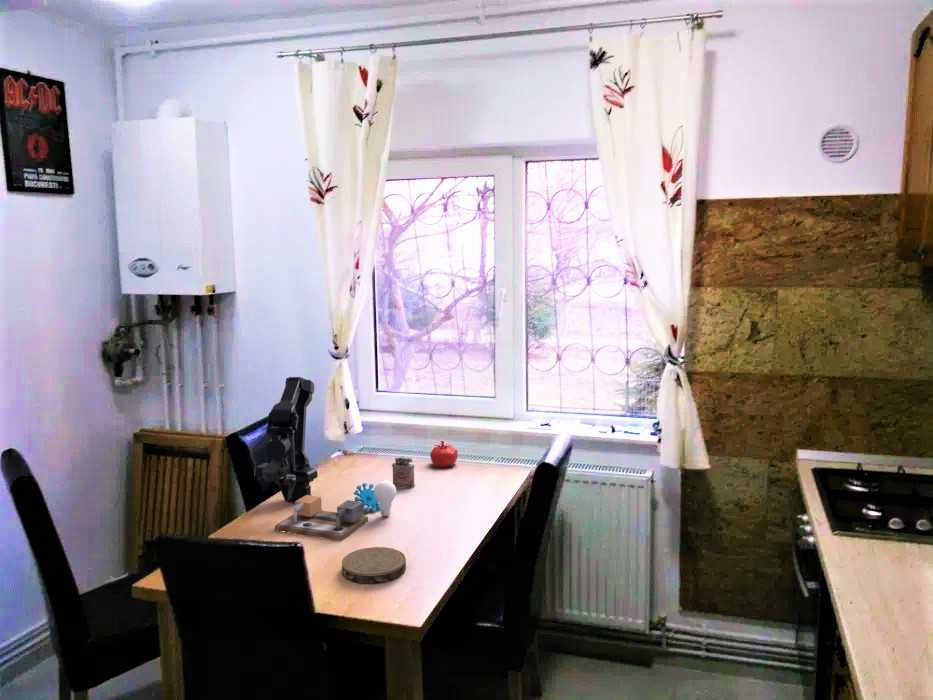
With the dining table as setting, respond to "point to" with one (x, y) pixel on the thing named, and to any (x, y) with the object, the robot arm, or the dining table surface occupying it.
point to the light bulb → (385, 496)
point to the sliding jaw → (307, 506)
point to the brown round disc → (373, 565)
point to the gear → (367, 497)
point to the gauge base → (327, 522)
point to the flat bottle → (403, 473)
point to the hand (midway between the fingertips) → (287, 500)
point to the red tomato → (443, 455)
